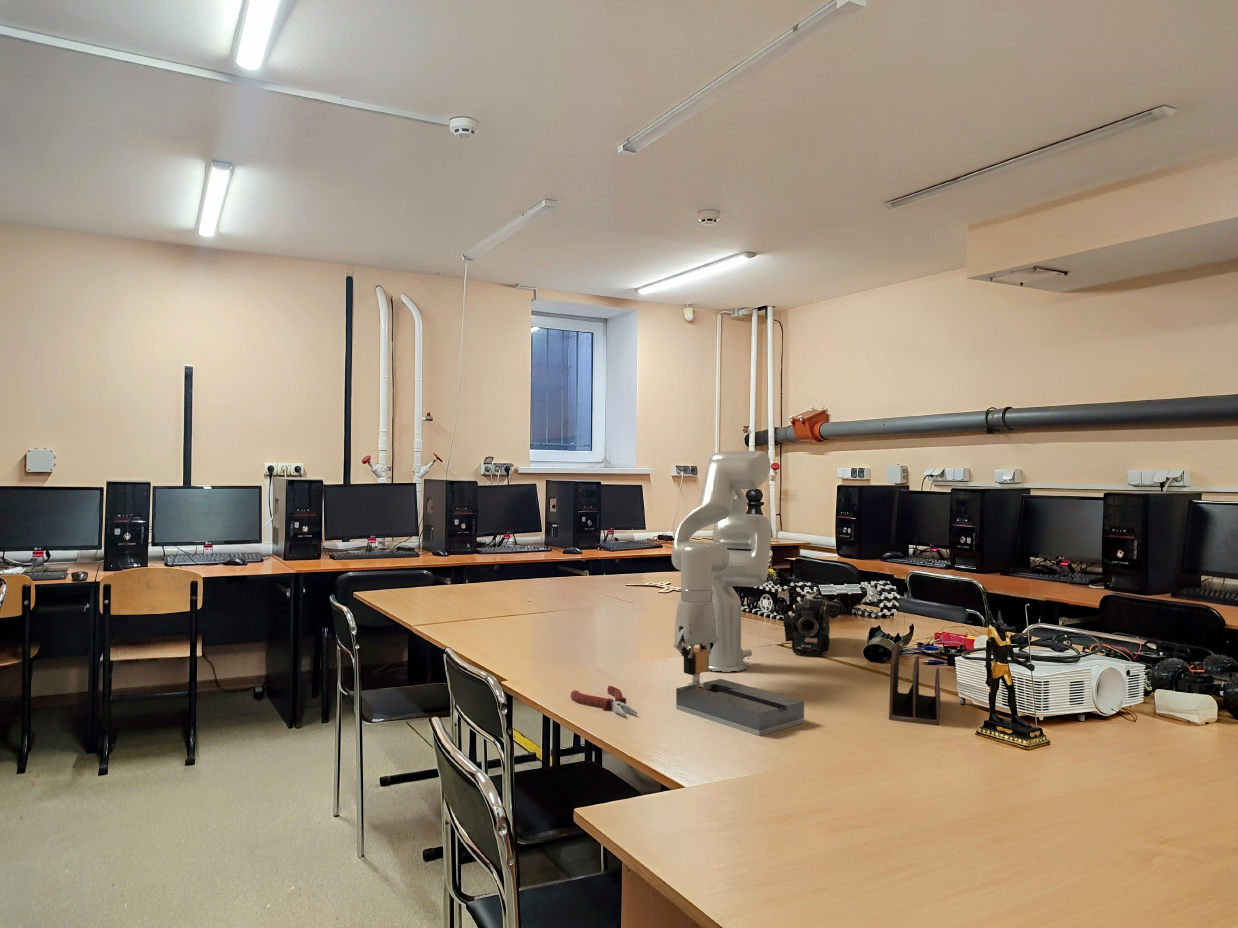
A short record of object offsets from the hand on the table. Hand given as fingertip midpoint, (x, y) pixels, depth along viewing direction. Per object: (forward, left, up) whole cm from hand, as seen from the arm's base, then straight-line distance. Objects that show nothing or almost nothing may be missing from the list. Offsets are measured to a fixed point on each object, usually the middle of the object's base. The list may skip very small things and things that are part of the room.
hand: (696, 671), depth 196 cm
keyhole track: (+8, +21, -4) cm, 23 cm away
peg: (0, 0, -4) cm, 4 cm away
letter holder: (-26, +42, -5) cm, 50 cm away
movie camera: (-62, -11, -5) cm, 63 cm away
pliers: (+26, -3, -5) cm, 27 cm away
